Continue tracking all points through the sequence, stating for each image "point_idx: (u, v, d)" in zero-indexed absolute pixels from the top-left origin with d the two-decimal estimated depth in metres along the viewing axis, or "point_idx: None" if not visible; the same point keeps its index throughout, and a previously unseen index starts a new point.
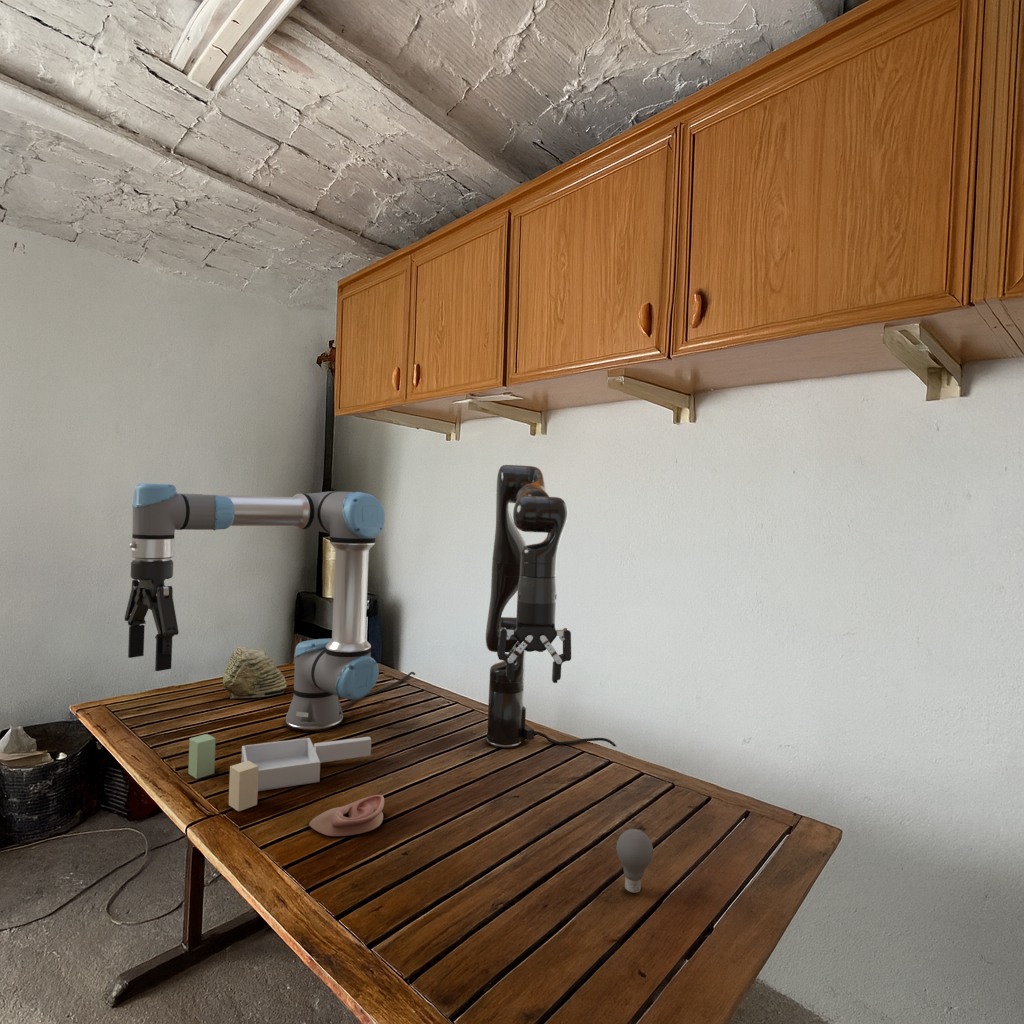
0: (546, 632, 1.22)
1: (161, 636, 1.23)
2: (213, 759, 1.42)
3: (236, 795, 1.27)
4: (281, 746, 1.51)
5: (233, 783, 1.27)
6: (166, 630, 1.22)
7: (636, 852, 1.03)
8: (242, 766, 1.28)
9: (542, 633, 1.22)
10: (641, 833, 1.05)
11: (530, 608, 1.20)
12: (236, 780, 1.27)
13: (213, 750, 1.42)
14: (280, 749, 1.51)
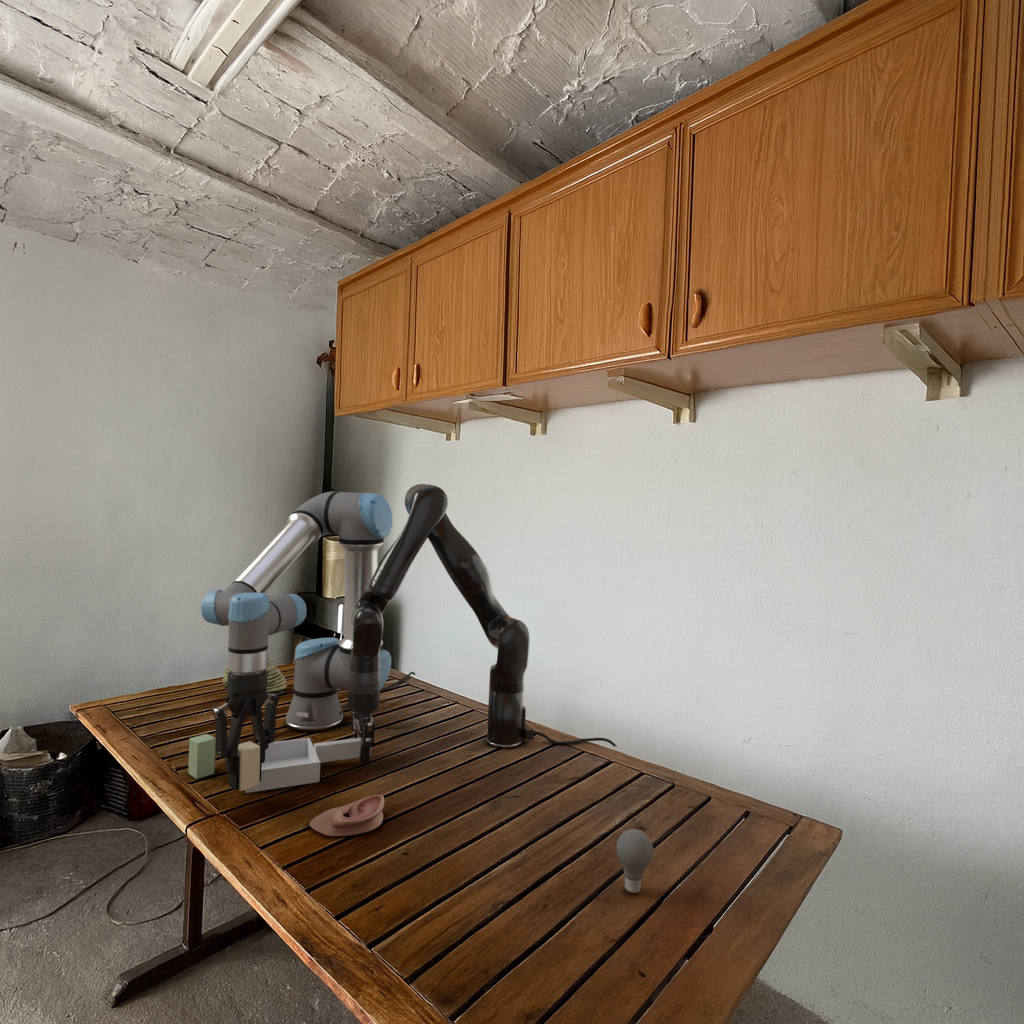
0: None
1: None
2: (213, 759, 1.42)
3: None
4: (281, 746, 1.51)
5: None
6: None
7: (636, 852, 1.03)
8: (244, 746, 1.29)
9: None
10: (641, 833, 1.05)
11: (379, 693, 1.52)
12: None
13: (213, 750, 1.42)
14: (280, 749, 1.51)
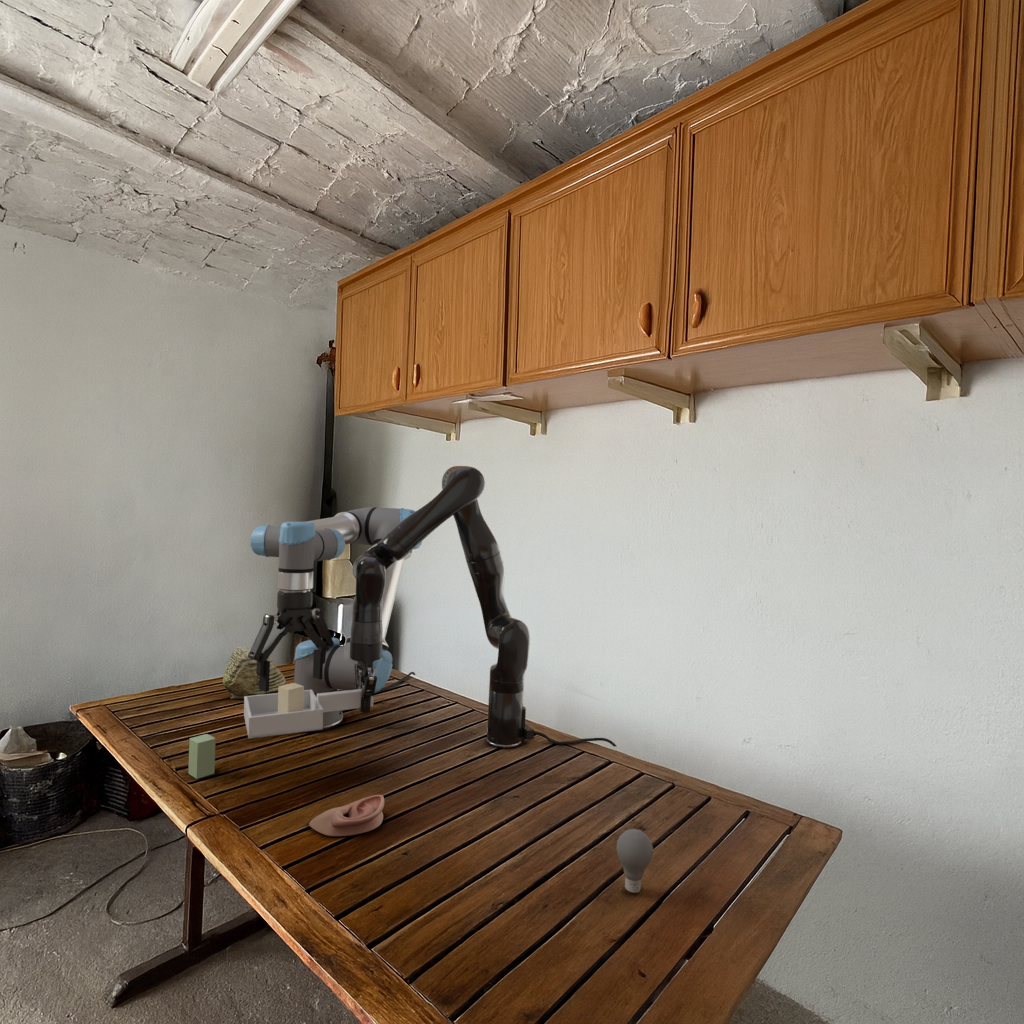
0: None
1: None
2: (213, 759, 1.42)
3: (284, 711, 1.41)
4: None
5: (282, 701, 1.42)
6: (249, 653, 1.36)
7: (636, 852, 1.03)
8: (289, 686, 1.43)
9: None
10: (641, 833, 1.05)
11: (381, 644, 1.52)
12: (285, 698, 1.41)
13: (213, 750, 1.42)
14: None
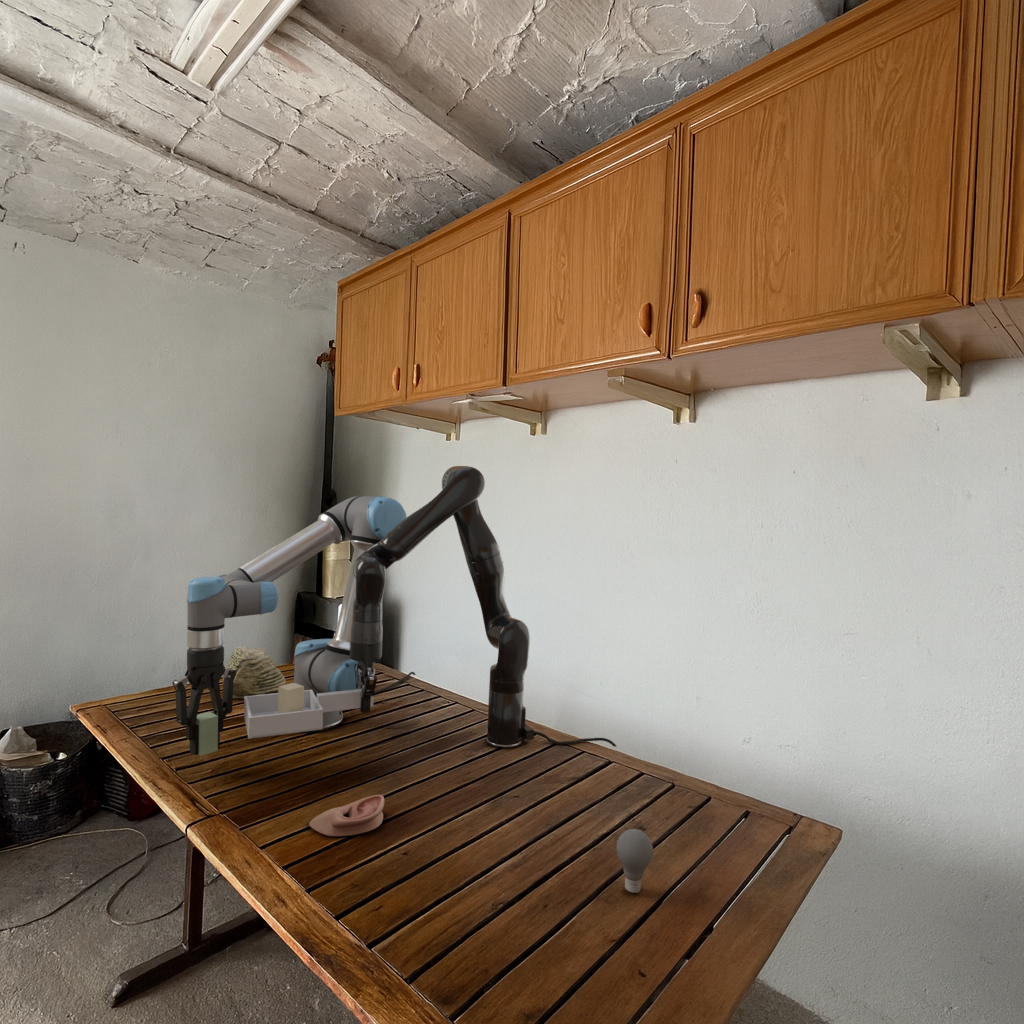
0: None
1: None
2: (216, 737, 1.42)
3: (285, 711, 1.41)
4: None
5: (282, 701, 1.42)
6: None
7: (636, 852, 1.03)
8: (289, 686, 1.43)
9: None
10: (641, 833, 1.05)
11: (381, 644, 1.52)
12: (285, 698, 1.41)
13: (216, 727, 1.42)
14: None
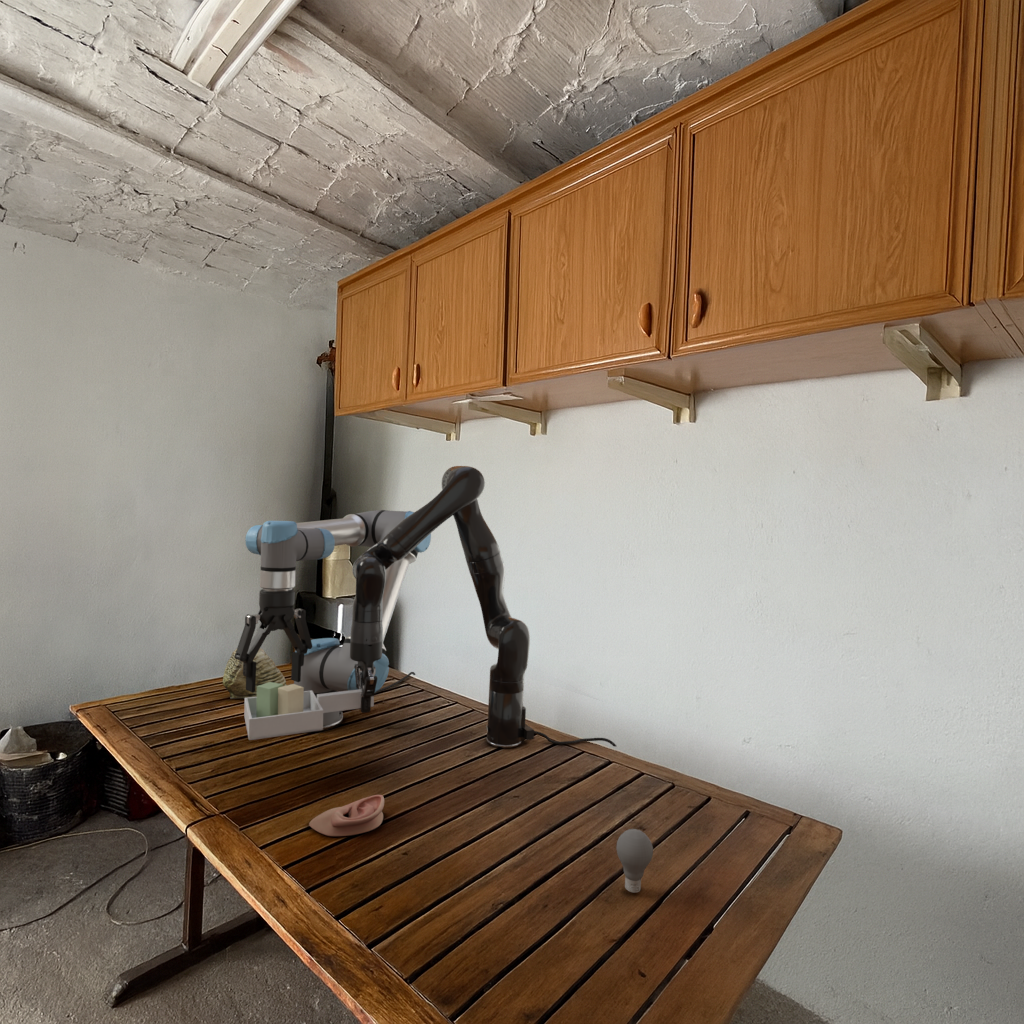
0: None
1: None
2: None
3: (284, 712, 1.41)
4: None
5: (282, 702, 1.42)
6: (236, 654, 1.38)
7: (636, 852, 1.03)
8: (289, 687, 1.43)
9: None
10: (641, 833, 1.05)
11: None
12: (285, 699, 1.41)
13: None
14: None
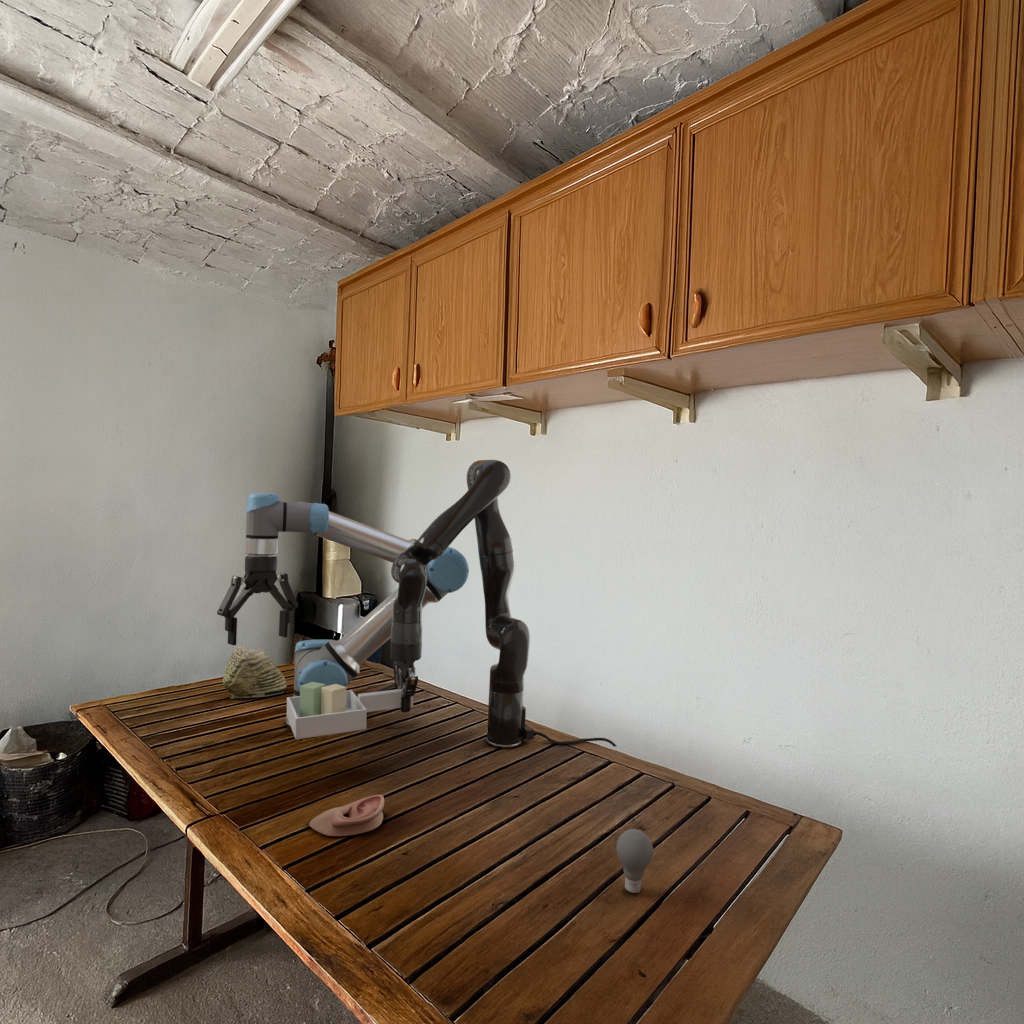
0: None
1: None
2: None
3: (328, 711, 1.43)
4: None
5: (325, 702, 1.43)
6: (218, 610, 1.51)
7: (636, 852, 1.03)
8: (332, 687, 1.45)
9: None
10: (641, 833, 1.05)
11: (421, 645, 1.54)
12: (329, 699, 1.43)
13: None
14: None
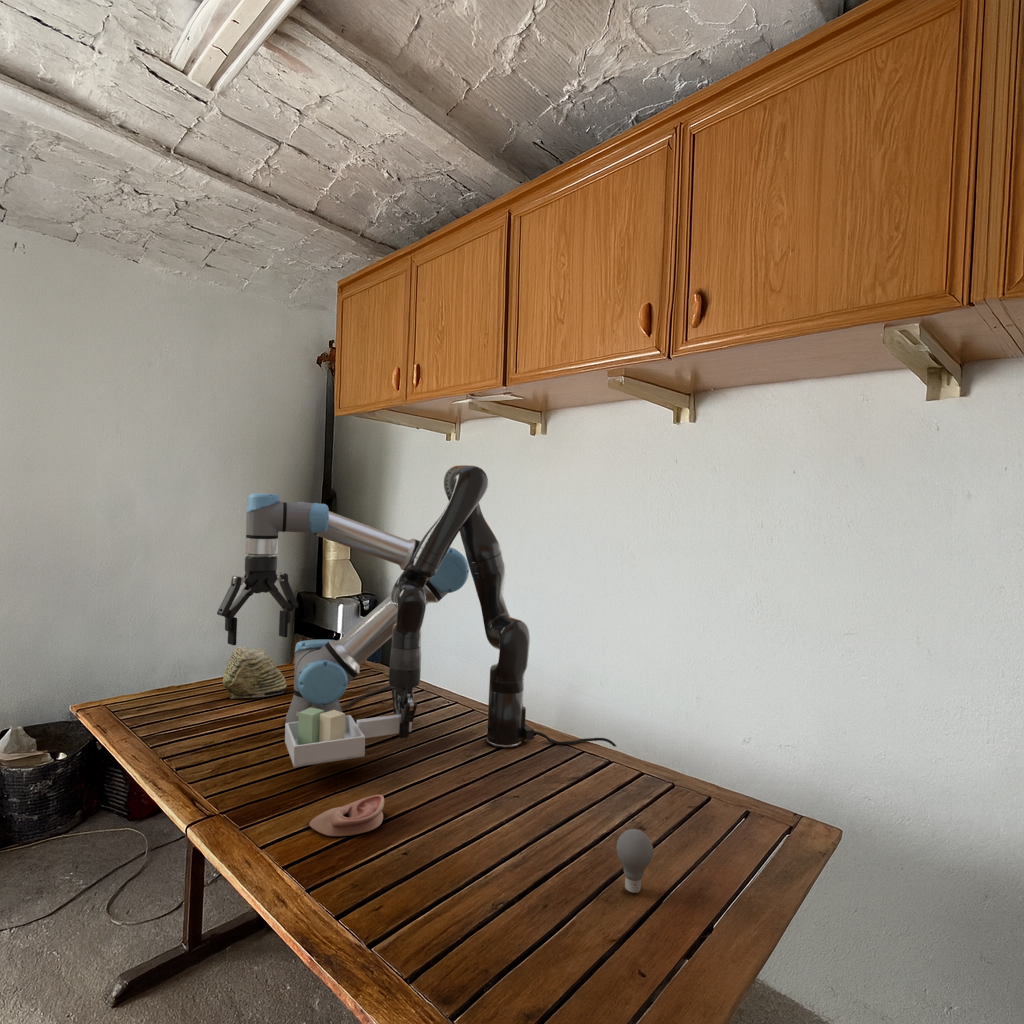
0: None
1: None
2: None
3: (326, 738, 1.43)
4: None
5: (324, 729, 1.43)
6: (218, 610, 1.51)
7: (636, 852, 1.03)
8: (331, 714, 1.45)
9: None
10: (641, 833, 1.05)
11: (420, 670, 1.54)
12: (327, 726, 1.43)
13: None
14: None
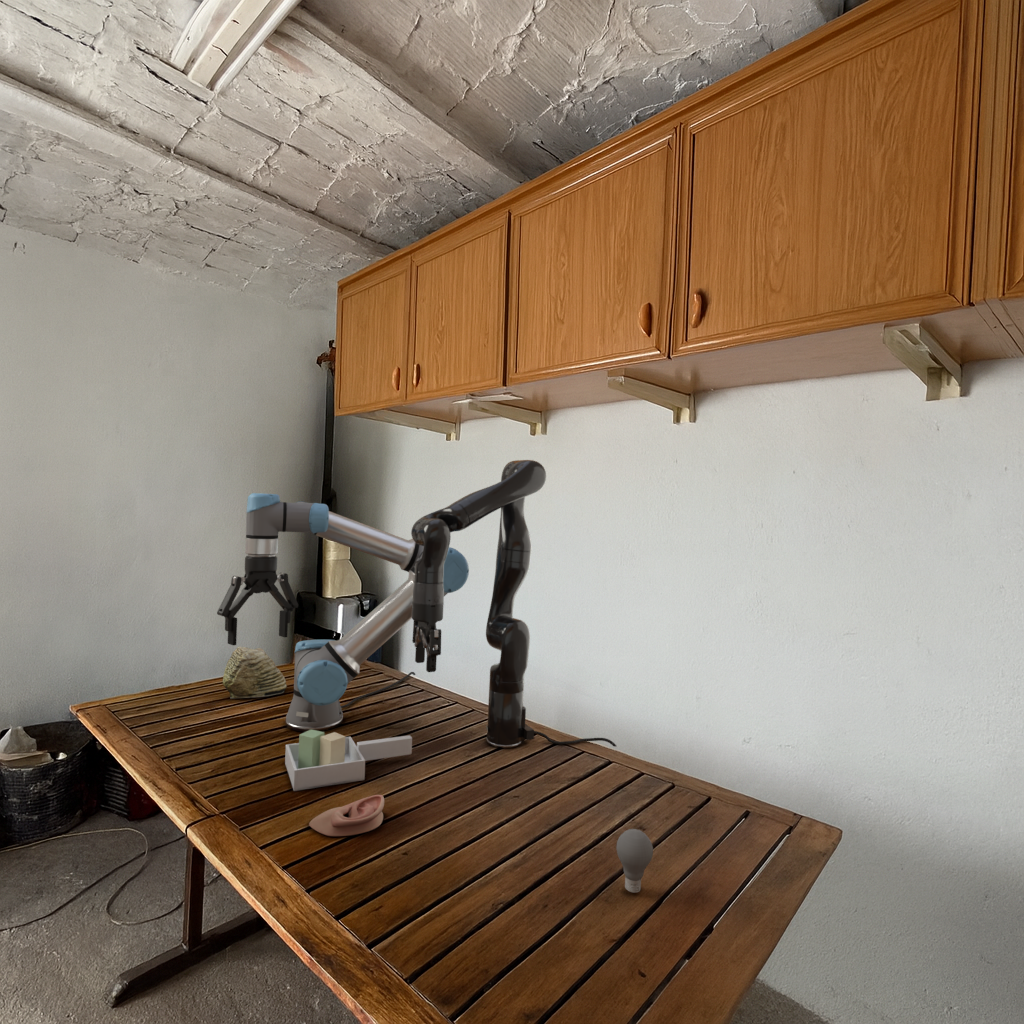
0: None
1: None
2: None
3: (327, 761, 1.43)
4: None
5: (324, 751, 1.44)
6: (218, 610, 1.51)
7: (636, 852, 1.03)
8: (331, 736, 1.45)
9: None
10: (641, 833, 1.05)
11: None
12: (327, 749, 1.43)
13: None
14: None
